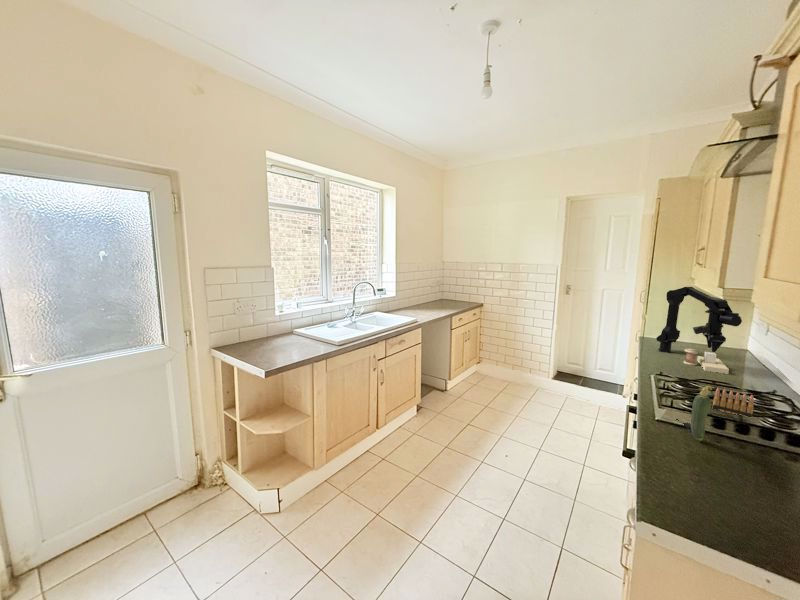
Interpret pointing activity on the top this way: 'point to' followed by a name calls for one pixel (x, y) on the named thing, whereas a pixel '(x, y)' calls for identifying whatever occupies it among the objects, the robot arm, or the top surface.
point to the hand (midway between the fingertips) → (711, 349)
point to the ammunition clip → (728, 406)
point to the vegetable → (700, 413)
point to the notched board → (713, 366)
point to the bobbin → (691, 357)
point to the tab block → (709, 357)
